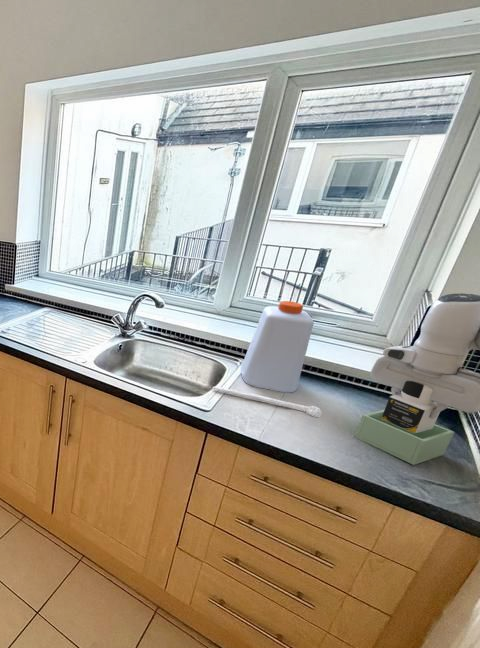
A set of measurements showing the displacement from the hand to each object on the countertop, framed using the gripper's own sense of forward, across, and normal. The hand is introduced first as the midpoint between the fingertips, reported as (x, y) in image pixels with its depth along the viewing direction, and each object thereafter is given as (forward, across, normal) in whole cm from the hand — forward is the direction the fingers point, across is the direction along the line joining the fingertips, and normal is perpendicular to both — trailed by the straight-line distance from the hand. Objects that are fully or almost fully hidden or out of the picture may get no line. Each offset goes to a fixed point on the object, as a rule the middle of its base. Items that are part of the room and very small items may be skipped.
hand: (412, 410), depth 105 cm
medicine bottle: (+4, 0, 0) cm, 4 cm away
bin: (+10, 0, 0) cm, 10 cm away
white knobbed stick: (+10, +27, +13) cm, 32 cm away
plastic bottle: (+10, +38, -3) cm, 39 cm away
